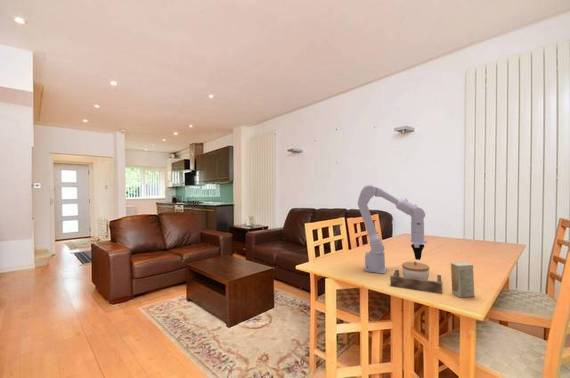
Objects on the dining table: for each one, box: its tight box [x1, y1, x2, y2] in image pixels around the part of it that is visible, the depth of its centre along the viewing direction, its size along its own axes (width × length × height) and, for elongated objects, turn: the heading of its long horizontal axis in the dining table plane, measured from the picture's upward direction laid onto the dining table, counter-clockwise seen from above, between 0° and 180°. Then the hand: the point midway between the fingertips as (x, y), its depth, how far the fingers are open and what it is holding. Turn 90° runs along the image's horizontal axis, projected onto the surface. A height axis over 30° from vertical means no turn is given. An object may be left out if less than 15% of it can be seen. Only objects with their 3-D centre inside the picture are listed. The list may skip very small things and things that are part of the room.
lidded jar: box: [401, 260, 430, 280], centre depth 117 cm, size 11×11×9 cm
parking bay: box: [390, 269, 443, 294], centre depth 116 cm, size 19×16×4 cm
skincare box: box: [450, 261, 475, 298], centre depth 103 cm, size 6×4×12 cm
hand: (418, 259), depth 130 cm, fingers closed
